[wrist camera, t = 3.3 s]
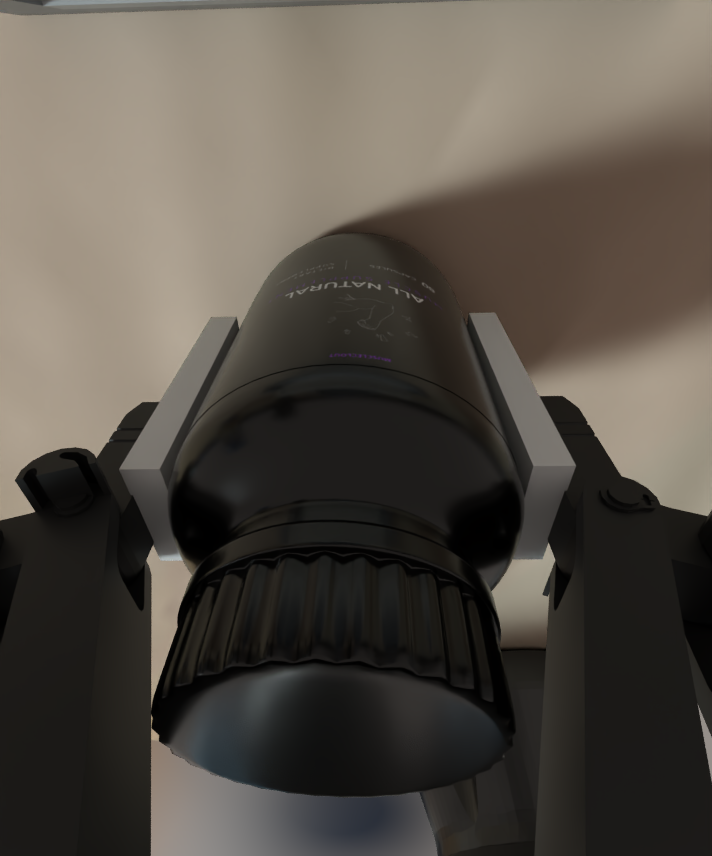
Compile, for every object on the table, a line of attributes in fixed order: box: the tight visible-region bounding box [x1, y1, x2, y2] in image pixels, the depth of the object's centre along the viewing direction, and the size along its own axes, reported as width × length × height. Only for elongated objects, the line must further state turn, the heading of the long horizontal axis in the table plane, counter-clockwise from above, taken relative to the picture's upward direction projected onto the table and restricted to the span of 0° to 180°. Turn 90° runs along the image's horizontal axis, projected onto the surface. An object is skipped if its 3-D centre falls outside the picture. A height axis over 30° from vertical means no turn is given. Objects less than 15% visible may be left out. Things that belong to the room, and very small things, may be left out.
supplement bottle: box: [151, 233, 524, 798], centre depth 11 cm, size 7×7×12 cm
